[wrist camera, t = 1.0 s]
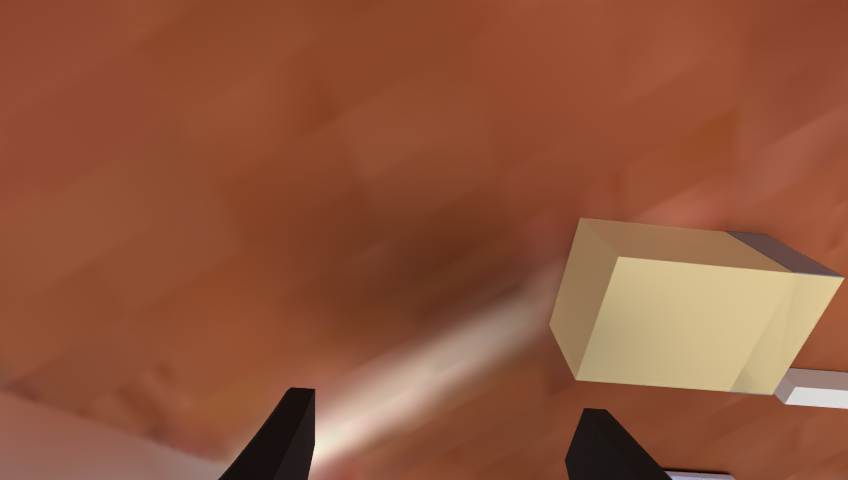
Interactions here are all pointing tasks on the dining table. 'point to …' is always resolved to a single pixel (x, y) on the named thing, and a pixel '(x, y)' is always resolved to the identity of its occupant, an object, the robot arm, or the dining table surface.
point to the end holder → (814, 388)
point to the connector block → (686, 306)
